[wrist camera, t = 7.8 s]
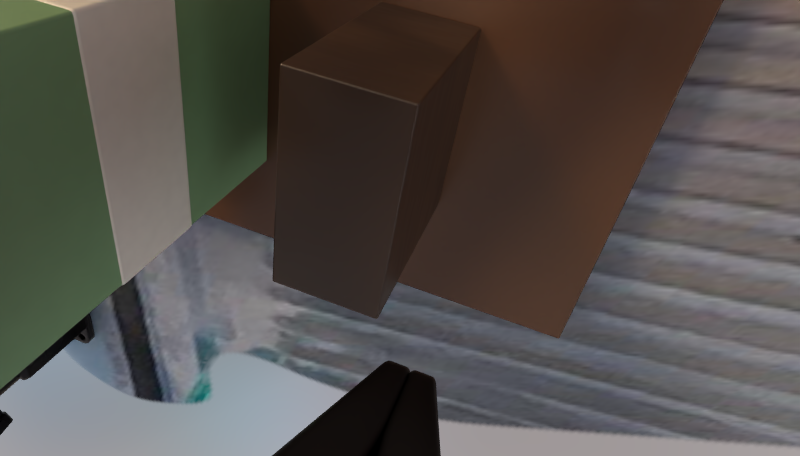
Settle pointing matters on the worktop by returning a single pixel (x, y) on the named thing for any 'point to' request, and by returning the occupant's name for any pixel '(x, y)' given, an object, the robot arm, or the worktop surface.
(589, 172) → the walnut board
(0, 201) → the block
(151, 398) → the worktop surface
